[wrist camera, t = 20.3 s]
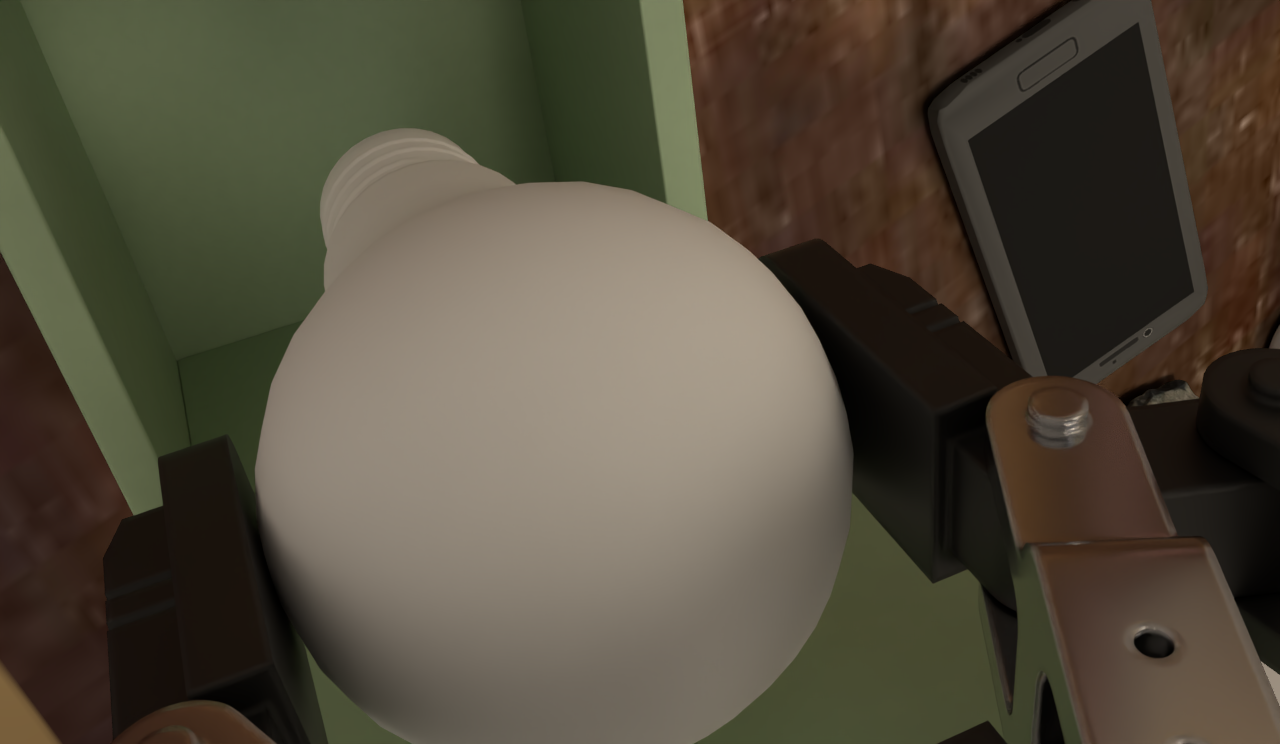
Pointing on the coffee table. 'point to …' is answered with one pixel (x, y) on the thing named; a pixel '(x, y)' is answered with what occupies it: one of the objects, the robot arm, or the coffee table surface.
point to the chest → (280, 170)
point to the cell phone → (1075, 189)
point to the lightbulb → (546, 459)
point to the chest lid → (837, 662)
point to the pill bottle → (1276, 340)
